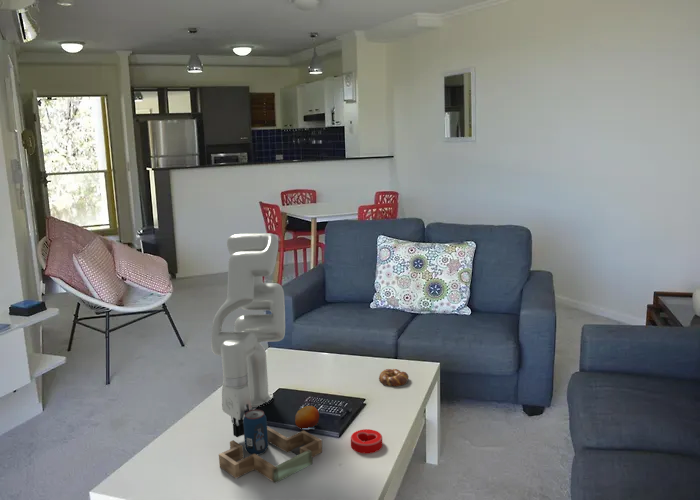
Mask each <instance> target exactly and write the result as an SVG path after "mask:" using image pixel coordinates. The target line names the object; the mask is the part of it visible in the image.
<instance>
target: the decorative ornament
mask: <svg viewBox="0 0 700 500" xmlns="http://www.w3.org/2000/svg"><path fill="white" fill-rule="evenodd" d="M350 448H351V449H352V451H355V452H356V453H358V454H359V453H360V454H365V455H366V454H373V453H377V452H380V450H382V448H383V436H382V434H381V433H380V432H379V431H377V430H374V429H364V428H363V429H360V430H356V431H354V432H353V433H352V434H351V436H350Z"/></svg>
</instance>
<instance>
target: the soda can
mask: <svg viewBox="0 0 700 500" xmlns="http://www.w3.org/2000/svg"><path fill="white" fill-rule="evenodd" d="M267 419H268V418H267V416H266V415H265V412H264V411H263V410H262V409H257V408H255V409H252V410H250V411H248V412H246V413H245V417H244V419H243V424H244V435H243V436H244V437H243V439H244V440H243V441H244V450H245V451H246V452H247V453H248V455H252V454H256V455H258V456H259V455H263V454H264V453H265V452H267V449H268V448H269V442H268V434H267V427H268V421H267Z"/></svg>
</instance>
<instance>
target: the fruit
mask: <svg viewBox="0 0 700 500" xmlns="http://www.w3.org/2000/svg"><path fill="white" fill-rule="evenodd" d="M294 419H295V421H294V423H295V425H296V427H297V428H298V429H300V428H301V429H302V428H308V427H313V426H315V425H316V426H318V424H319V420H320V413H319V410H318V409H317V408H316V407H315V406H313V405H305V406H303V407H301V408H300V409H298V410H297V412H296V413H295V417H294ZM317 423H318V424H317ZM301 429H300V430H301Z"/></svg>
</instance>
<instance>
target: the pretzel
mask: <svg viewBox="0 0 700 500" xmlns="http://www.w3.org/2000/svg"><path fill="white" fill-rule="evenodd" d="M408 379H409V375H408V373H407V372H405V371H401V370H399V369H396V368H386V369H384V370H382V371H381V372H380V374H379V377H378V380H379V382H380V383H381V384H382V385H384V386H386V387H388V386H389V387H401V386H404V385H406V384H407V383H408Z"/></svg>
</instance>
